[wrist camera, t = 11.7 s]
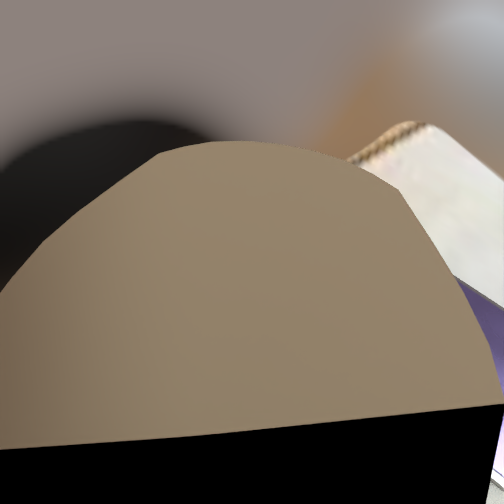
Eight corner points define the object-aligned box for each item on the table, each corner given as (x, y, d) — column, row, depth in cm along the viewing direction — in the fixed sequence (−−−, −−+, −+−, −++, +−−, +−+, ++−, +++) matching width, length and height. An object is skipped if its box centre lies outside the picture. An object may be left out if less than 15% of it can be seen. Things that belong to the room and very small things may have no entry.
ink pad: (504, 492, 14) (528, 506, 12) (362, 373, 16) (371, 375, 15) (561, 357, 16) (587, 359, 15) (429, 269, 18) (442, 264, 17)
